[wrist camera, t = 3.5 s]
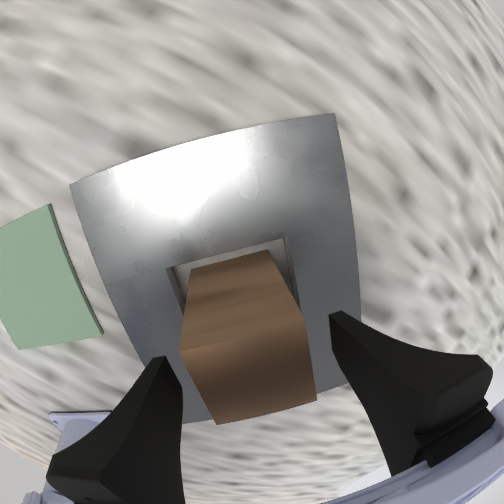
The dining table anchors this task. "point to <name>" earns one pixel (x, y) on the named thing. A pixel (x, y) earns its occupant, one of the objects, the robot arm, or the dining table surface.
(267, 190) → the grey plate with hole
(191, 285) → the plug
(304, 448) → the dining table surface
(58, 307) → the pad
